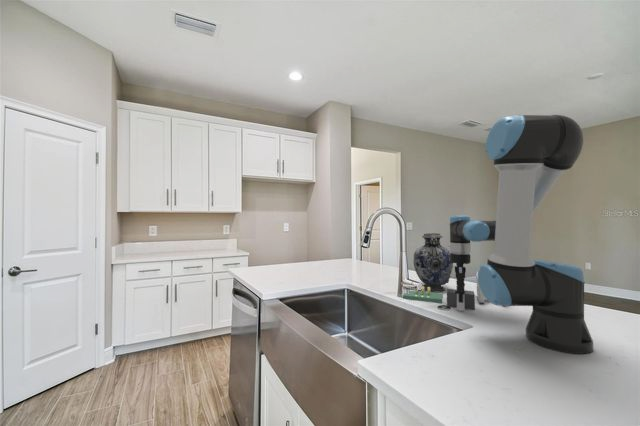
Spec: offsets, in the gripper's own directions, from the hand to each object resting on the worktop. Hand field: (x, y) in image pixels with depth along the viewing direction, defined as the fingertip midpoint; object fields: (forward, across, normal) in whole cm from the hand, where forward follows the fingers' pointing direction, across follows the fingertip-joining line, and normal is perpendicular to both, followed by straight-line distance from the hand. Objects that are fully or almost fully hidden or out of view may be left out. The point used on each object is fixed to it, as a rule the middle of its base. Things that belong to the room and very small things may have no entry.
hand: (460, 305), depth 117 cm
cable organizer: (0, -13, +12) cm, 18 cm away
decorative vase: (0, -25, -12) cm, 28 cm away
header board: (0, -6, -15) cm, 16 cm away
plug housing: (0, 0, 0) cm, 0 cm away
